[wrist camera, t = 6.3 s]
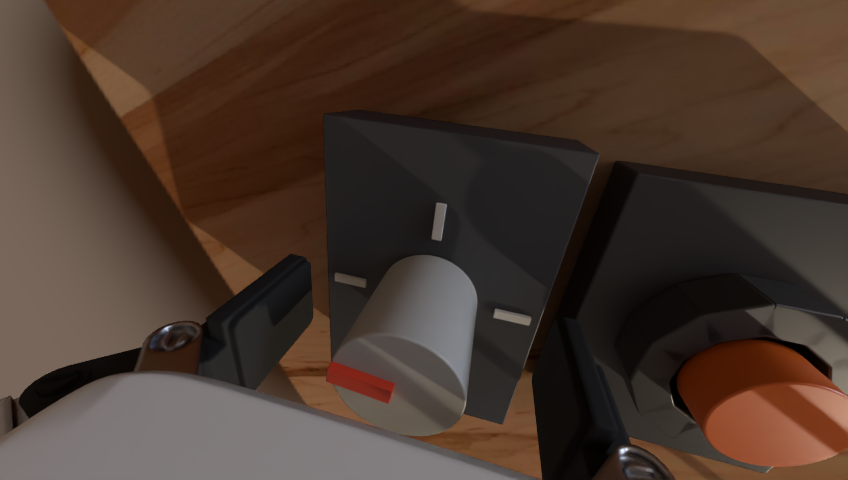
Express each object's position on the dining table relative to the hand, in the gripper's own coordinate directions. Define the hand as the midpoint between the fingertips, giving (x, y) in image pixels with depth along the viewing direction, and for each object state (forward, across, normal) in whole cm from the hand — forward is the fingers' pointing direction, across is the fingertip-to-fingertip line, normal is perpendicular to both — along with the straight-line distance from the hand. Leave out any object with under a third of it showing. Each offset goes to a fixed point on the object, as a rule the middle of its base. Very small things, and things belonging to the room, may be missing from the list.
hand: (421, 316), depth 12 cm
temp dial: (+1, 0, 0) cm, 1 cm away
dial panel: (+4, 0, 0) cm, 4 cm away
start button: (+1, -11, 0) cm, 11 cm away
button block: (+4, -11, 0) cm, 12 cm away
